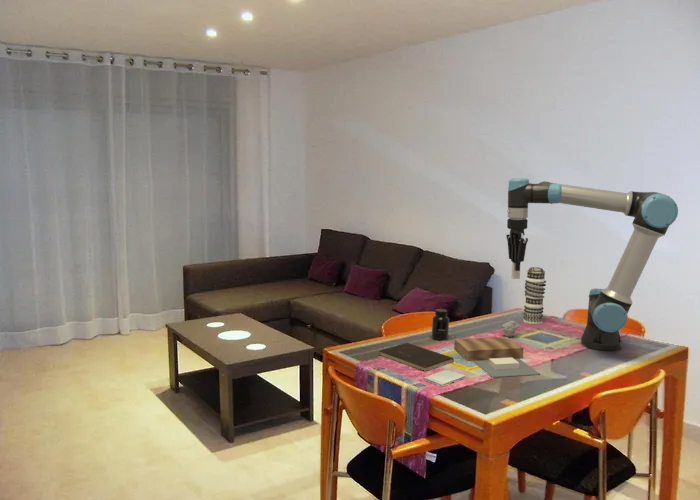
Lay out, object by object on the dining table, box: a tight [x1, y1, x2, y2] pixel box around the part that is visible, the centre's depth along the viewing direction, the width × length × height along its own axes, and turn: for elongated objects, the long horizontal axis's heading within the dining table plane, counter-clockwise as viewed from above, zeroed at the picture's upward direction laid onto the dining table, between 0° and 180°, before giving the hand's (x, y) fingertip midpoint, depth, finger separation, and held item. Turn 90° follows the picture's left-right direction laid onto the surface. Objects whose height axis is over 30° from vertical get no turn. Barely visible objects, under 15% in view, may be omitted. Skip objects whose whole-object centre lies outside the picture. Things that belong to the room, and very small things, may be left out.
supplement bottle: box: [431, 308, 450, 341], centre depth 251 cm, size 7×7×12 cm
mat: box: [473, 358, 541, 378], centre depth 219 cm, size 18×16×1 cm
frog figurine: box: [501, 320, 520, 338], centre depth 255 cm, size 6×7×7 cm
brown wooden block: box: [453, 336, 524, 362], centre depth 234 cm, size 22×14×4 cm, turn 101°
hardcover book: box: [378, 342, 455, 372], centre depth 227 cm, size 16×23×2 cm
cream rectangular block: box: [489, 357, 519, 370], centre depth 220 cm, size 9×6×2 cm, turn 100°
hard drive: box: [422, 368, 466, 387], centre depth 207 cm, size 2×8×12 cm
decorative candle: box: [522, 266, 547, 325], centre depth 277 cm, size 9×9×25 cm
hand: (515, 278), depth 239 cm, fingers closed
